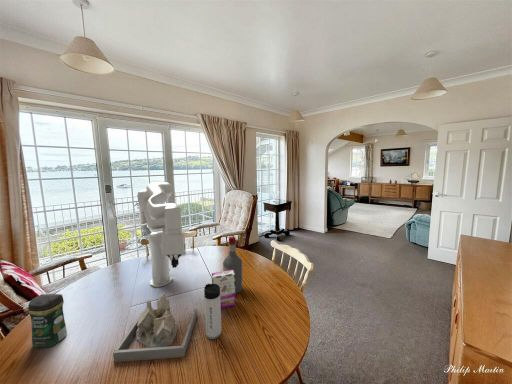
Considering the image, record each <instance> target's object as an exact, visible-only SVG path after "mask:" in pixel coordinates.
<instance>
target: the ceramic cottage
mask: <svg viewBox="0 0 512 384" xmlns="http://www.w3.org/2000/svg"><path fill="white" fill-rule="evenodd" d="M156 304H157V305H156V306H157V308H156V309H155V308H154V307H152V300H151V299H147V300H146V308H145V309H144V312H143V311H142V312H143V313H142V312H141V313H142V315H141V316H140V315H139V316H140V317H139V316H138V317H139V318H138V317H137V319H138V324H137V327H138V329H137V331H136V334H135V340H136V342H138V343H140V344H142V345H144V346H146V347H147V348H155V347H169V346H171V344H172V343H173V342H174V341H175V338H176V335H177V333H178V329H179V328H178V323H176V318H174V313H172V311H171V309H172V308H171V307H170V306H171V301H170V297H168V298H167V297H166V293H165V292H163V293H162V295H161V296H160V299H157V300H156Z"/></svg>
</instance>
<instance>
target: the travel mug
mask: <svg viewBox="0 0 512 384" xmlns="http://www.w3.org/2000/svg"><path fill="white" fill-rule="evenodd" d="M203 289H204V291H203V292H204V294H203V295H204V296H203V297H204V320H205V321H204V322H205V323H204V324H205V336H206V338H207V339H208V340H215V339H218V338H219V337H220V336H221V335H222V317H221V316H222V312H221V311H222V308H221V302H220V287H219V285H217V284H212V283H206V284H205V285H204V288H203Z"/></svg>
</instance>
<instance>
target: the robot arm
mask: <svg viewBox="0 0 512 384" xmlns="http://www.w3.org/2000/svg"><path fill="white" fill-rule="evenodd" d="M173 188H174V187H173V185H172V184H171V183H170V182H164V181H163V182H151V183H149V184H148V185H146V187H145V188H144V189H141V190H139V191H138V192H137V194H136V196H137V202H138V205H139V207H140V208H141V209H142V211H143V213H144V216H145V220H146V224H147V225H146V226H147V227H148V229H149V231H152V232H150V233H149V234H148V237H147V239H148V244H149V249H150V260H151V263H150V264H151V275H152V278H151V279H150V281H149V285H150V287H153V288H155V287H156V288H159V287H164V286H166V285H168V284H171V283H172V282H173V280H174V279H173V276H172V275H170V271H171V268H170V261H171V266H172V268H173V269H174V268H175V269H176V268H177V267H178V266H179V258H181V257H182V256H186V254H187V253H186V252H187V251H186V240H185V235H184V232H183V229H182V227H183V226H182V208H181V206H180V205H178V204H177V203H175V202H170V203H166V202H167V201H168V199H169V198H170V197H171V196H172V194H173V193H174V189H173Z"/></svg>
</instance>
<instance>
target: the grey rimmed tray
mask: <svg viewBox="0 0 512 384" xmlns="http://www.w3.org/2000/svg"><path fill="white" fill-rule="evenodd" d="M197 309H198V308H196V307H195V308H194V309H193V311H192V314H191V317H190V321H189V322H188V323H189V324H188V327H187V329H186V333H185V335H184V337H183V341H182V343H181V345H172V346H171V345H168V346H165V347H155V348H149V347H144V348H131V349H130V348H128V346H129V344H131V343H130V342H131V341H132V340H133V338H134V336H136V331H137V329H138V327H137V324H138V318H139V317H140V316H141V315H142V313H143V312H144V311H141V313H140V314H139V316H138V317H137V318H136V320H135V321H134V323H133V324H132V326H131V327H130V328H129V329H128V331H127V332H126V334H125V335H124V337H122V338H123V339H122V340H121V341H120V342H119V344H118V345H117V346H116V348H115V349H114V351H113V353H112V356H113V363H118V362H135V361H146V360H148V361H149V360H159V359H171V358H172V359H174V358H175V359H176V358H185V355H186V352H187V350H188V349H187V348H188V347H189V342H190V340H191V336H192V333H193V329H194V326H195V323H196V320H197V316H198V310H197ZM127 348H128V349H127Z"/></svg>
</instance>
